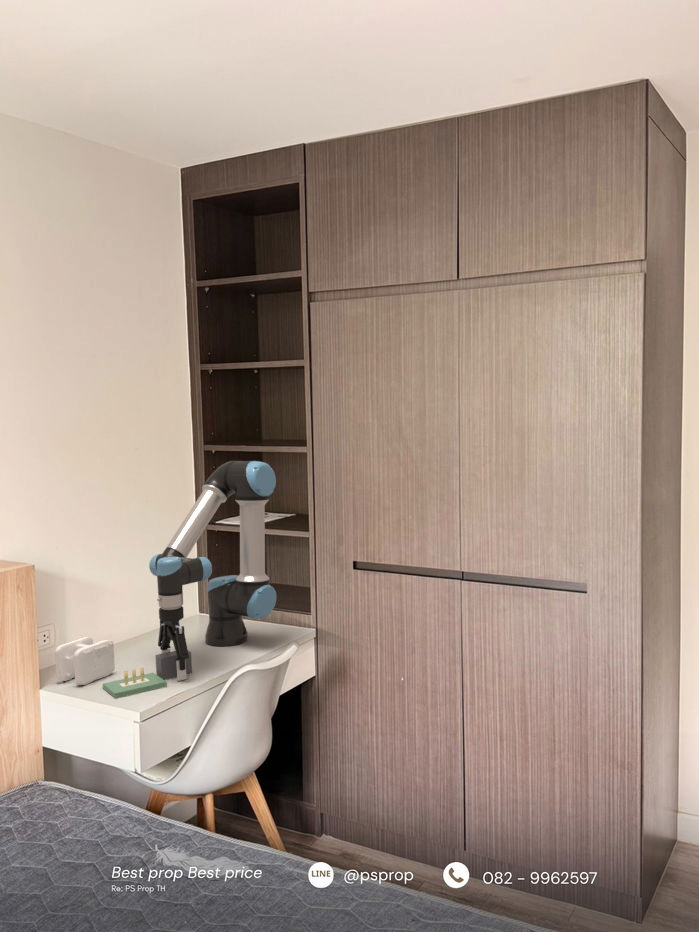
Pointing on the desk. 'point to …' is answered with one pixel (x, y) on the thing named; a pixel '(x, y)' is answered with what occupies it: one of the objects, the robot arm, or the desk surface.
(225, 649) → the desk surface
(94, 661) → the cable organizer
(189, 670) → the block
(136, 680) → the board
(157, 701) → the desk surface
